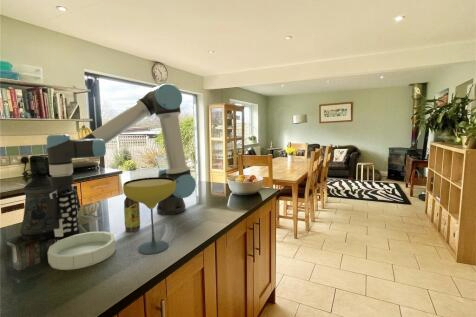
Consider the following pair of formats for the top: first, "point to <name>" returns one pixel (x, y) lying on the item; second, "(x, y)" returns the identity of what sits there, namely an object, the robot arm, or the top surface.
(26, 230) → the beer stein
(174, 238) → the top surface
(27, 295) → the top surface
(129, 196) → the cocktail glass
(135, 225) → the sauce bottle
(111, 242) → the bowl
